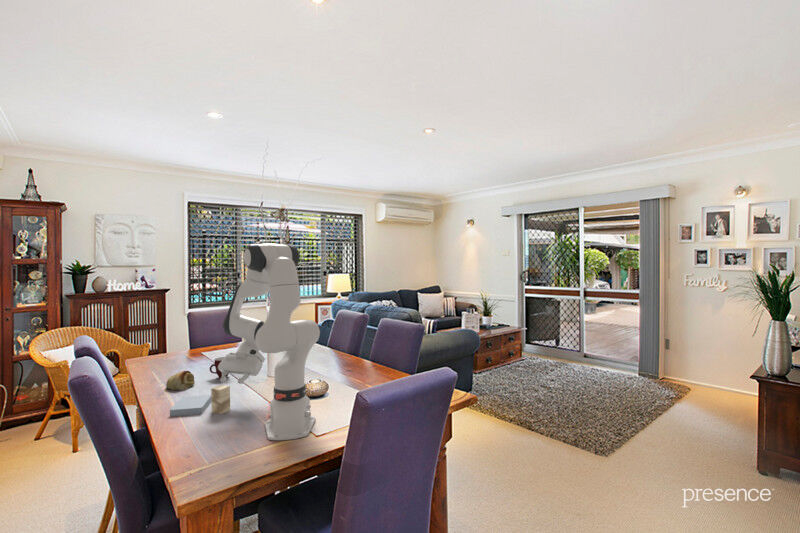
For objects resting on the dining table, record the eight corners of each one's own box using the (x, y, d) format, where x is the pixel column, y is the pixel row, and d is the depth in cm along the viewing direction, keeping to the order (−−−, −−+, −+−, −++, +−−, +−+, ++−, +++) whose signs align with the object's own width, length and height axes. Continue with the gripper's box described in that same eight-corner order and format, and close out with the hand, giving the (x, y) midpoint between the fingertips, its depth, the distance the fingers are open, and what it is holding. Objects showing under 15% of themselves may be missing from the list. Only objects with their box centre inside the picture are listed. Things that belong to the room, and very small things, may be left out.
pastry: (193, 389, 196) (193, 372, 196) (164, 392, 192) (163, 376, 191) (195, 381, 209) (195, 365, 209) (168, 384, 204) (168, 368, 204)
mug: (210, 381, 208) (210, 362, 208) (209, 377, 215) (208, 358, 215) (232, 377, 214) (232, 359, 213) (230, 374, 221) (230, 356, 220)
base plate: (202, 414, 164) (201, 407, 164) (170, 417, 162) (169, 410, 162) (212, 401, 180) (212, 394, 180) (183, 403, 178) (183, 396, 178)
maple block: (230, 409, 168) (229, 386, 168) (221, 414, 164) (220, 389, 164) (220, 408, 170) (220, 384, 170) (211, 412, 166) (211, 388, 165)
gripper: (224, 348, 183) (207, 376, 174) (261, 352, 176) (246, 380, 167) (232, 356, 187) (216, 383, 178) (268, 359, 180) (253, 388, 171)
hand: (230, 382), depth 172 cm, fingers open, 8 cm apart
